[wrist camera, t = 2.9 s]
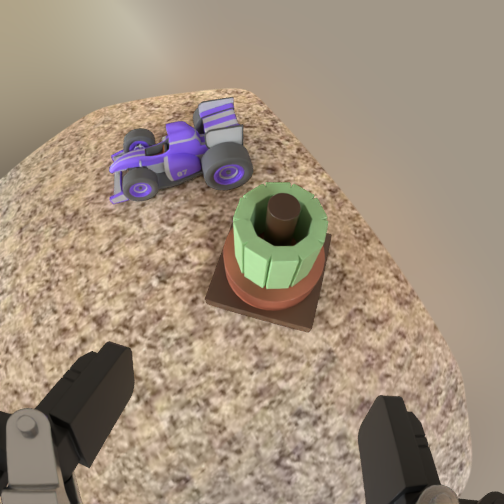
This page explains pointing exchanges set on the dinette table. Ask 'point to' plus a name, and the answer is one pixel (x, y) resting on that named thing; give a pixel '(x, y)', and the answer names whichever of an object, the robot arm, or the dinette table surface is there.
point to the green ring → (277, 257)
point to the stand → (261, 299)
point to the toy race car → (184, 154)
